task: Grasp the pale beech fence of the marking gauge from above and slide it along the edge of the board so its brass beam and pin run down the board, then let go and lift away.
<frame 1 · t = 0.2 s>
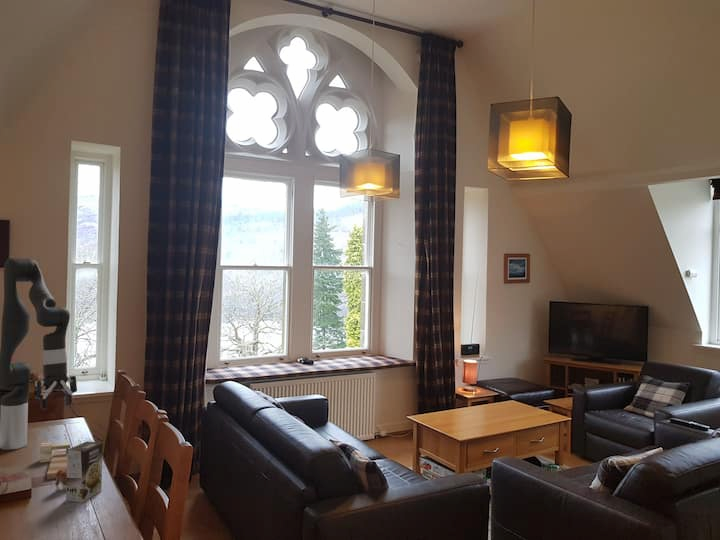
hand: (56, 407, 198), 22 cm above the table, tool pointing down, fingers open, 8 cm apart
bull figurine: (72, 486, 183), on the table
coffee box: (84, 496, 175), on the table
board: (59, 466, 199), on the table
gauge: (55, 451, 206), point 3 cm above the table, slide at 0.0 cm
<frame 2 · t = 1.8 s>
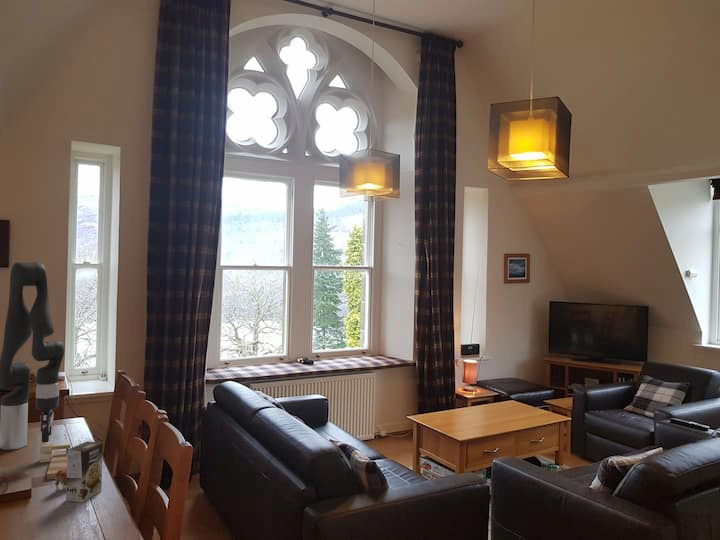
hand: (46, 438, 204), 8 cm above the table, tool pointing down, fingers open, 8 cm apart
nothing on the table moved.
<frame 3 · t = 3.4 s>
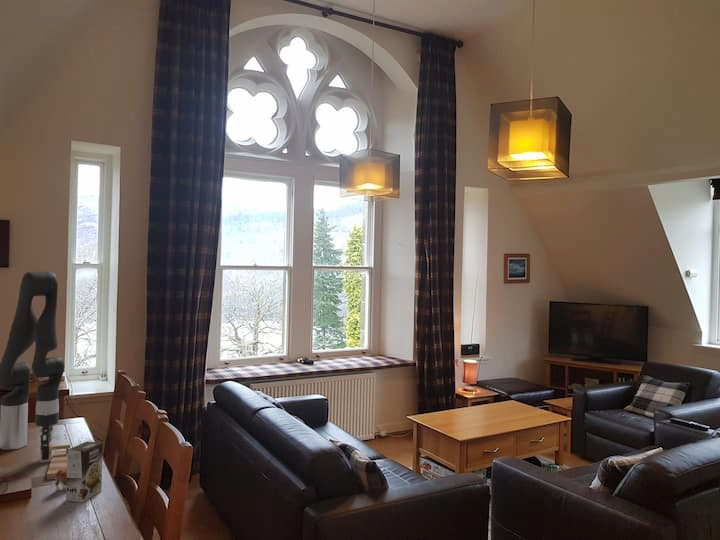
hand: (45, 457, 204), 1 cm above the table, tool pointing down, fingers closed on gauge, 4 cm apart
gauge: (55, 451, 206), point 3 cm above the table, slide at 0.0 cm, touching gripper
everything else where it was.
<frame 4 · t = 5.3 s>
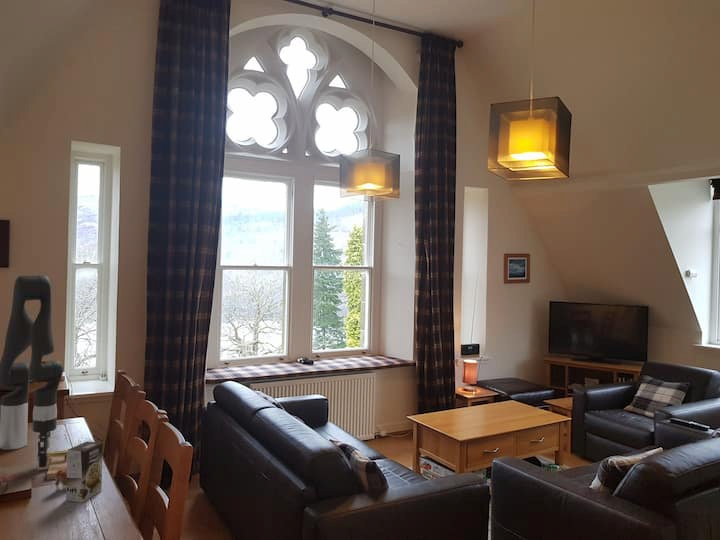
hand: (43, 464, 197), 1 cm above the table, tool pointing down, fingers closed on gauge, 4 cm apart
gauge: (53, 458, 198), point 3 cm above the table, slide at 7.9 cm, touching gripper
everything else where it was.
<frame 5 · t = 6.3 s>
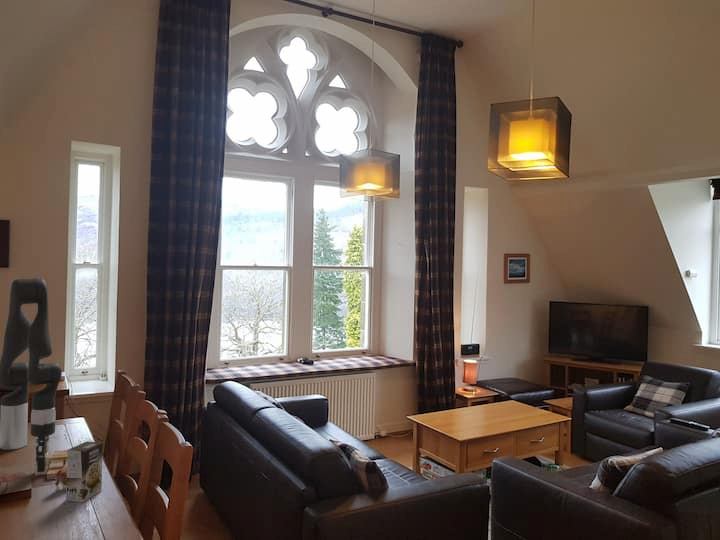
hand: (41, 469, 193), 1 cm above the table, tool pointing down, fingers closed on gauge, 4 cm apart
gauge: (52, 463, 194), point 3 cm above the table, slide at 12.9 cm, touching gripper
everything else where it was.
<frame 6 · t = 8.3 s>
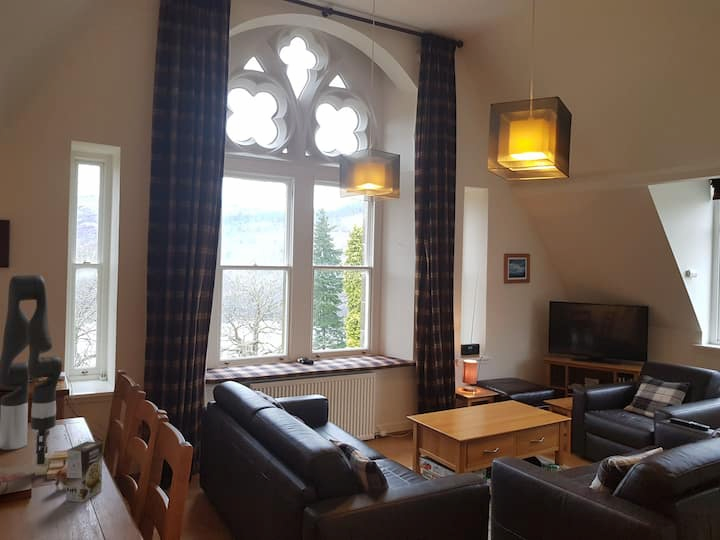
hand: (42, 459, 193), 5 cm above the table, tool pointing down, fingers open, 8 cm apart
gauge: (52, 463, 194), point 3 cm above the table, slide at 12.9 cm
everything else where it was.
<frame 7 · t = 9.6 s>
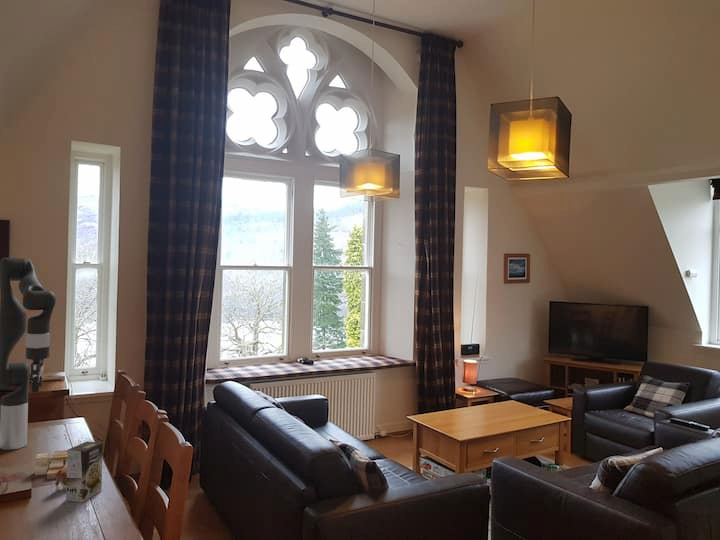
hand: (36, 389, 201), 27 cm above the table, tool pointing down, fingers open, 8 cm apart
nothing on the table moved.
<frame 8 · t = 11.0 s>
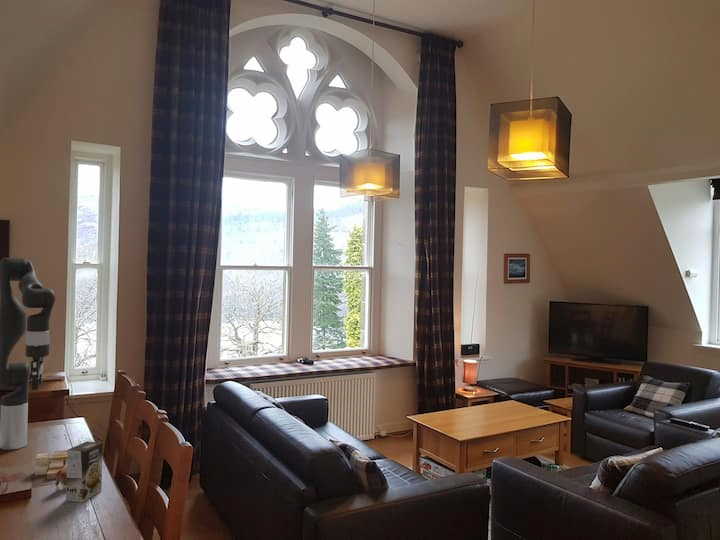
hand: (36, 387, 201), 28 cm above the table, tool pointing down, fingers open, 8 cm apart
nothing on the table moved.
at the end: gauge slide at 12.9 cm; the gripper is holding nothing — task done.
